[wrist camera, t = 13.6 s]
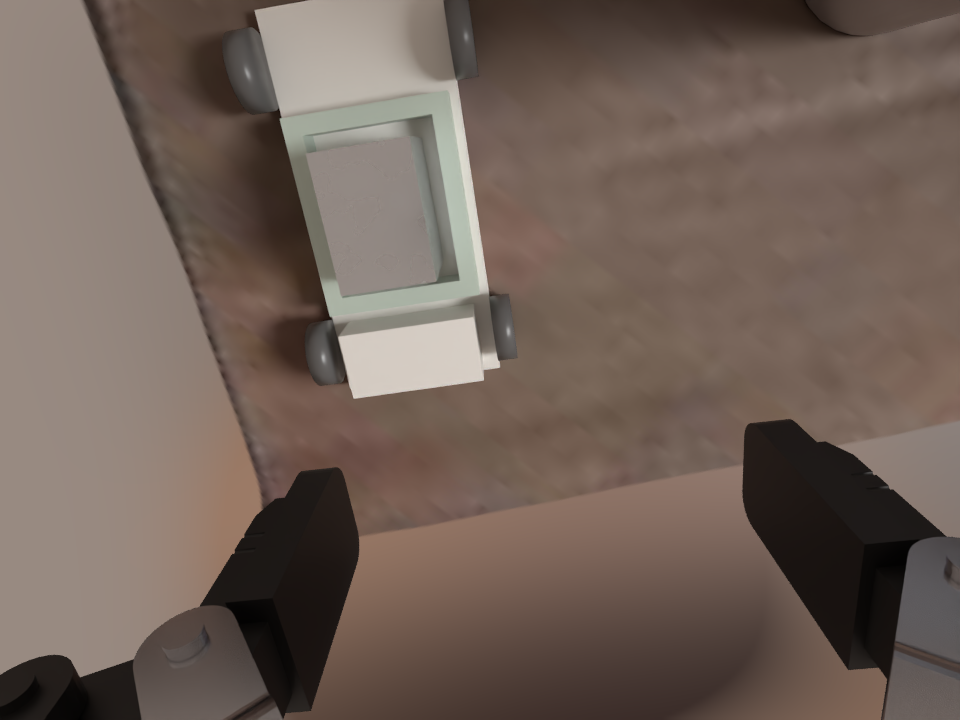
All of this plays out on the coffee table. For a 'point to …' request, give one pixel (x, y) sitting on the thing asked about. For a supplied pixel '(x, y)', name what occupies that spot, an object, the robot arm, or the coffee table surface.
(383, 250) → the block
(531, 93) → the coffee table surface
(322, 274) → the chassis
